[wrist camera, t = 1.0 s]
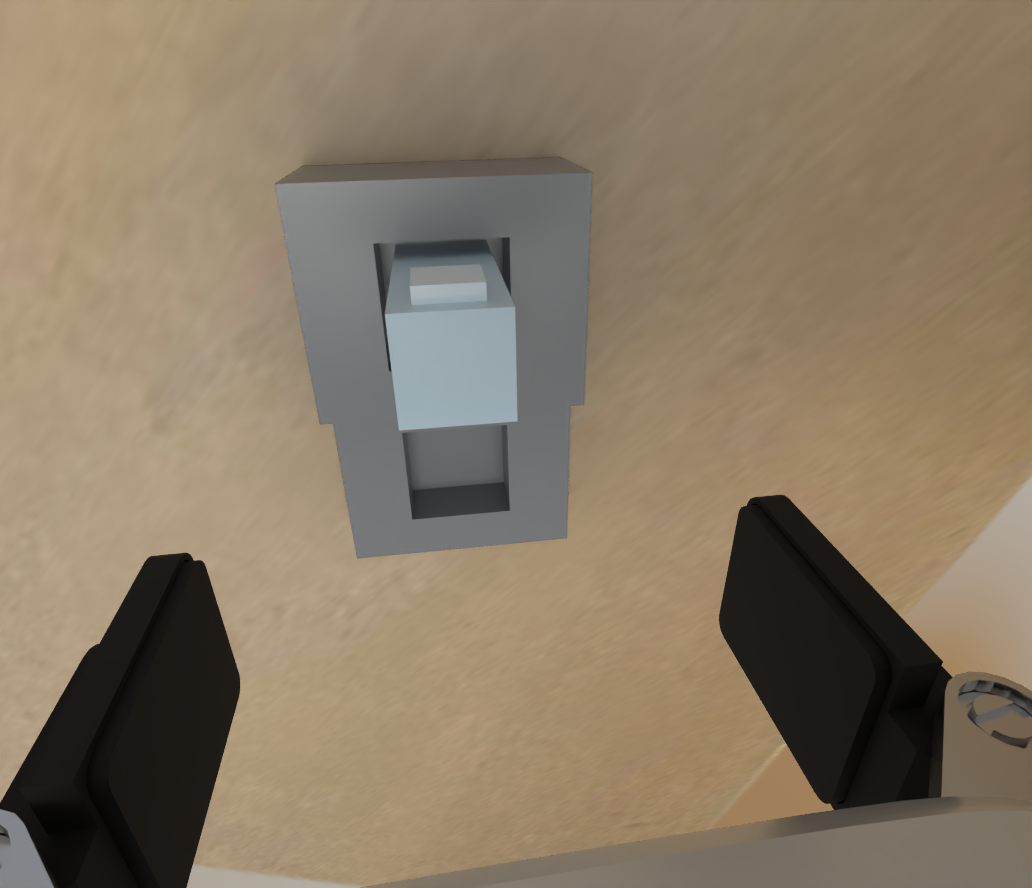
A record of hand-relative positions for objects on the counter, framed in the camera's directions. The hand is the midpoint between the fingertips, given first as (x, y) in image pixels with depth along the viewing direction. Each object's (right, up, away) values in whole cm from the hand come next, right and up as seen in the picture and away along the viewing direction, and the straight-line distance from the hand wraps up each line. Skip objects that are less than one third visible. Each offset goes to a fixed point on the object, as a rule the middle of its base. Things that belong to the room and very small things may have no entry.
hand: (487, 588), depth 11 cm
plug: (-3, +10, +18) cm, 21 cm away
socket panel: (-3, +7, +24) cm, 25 cm away
